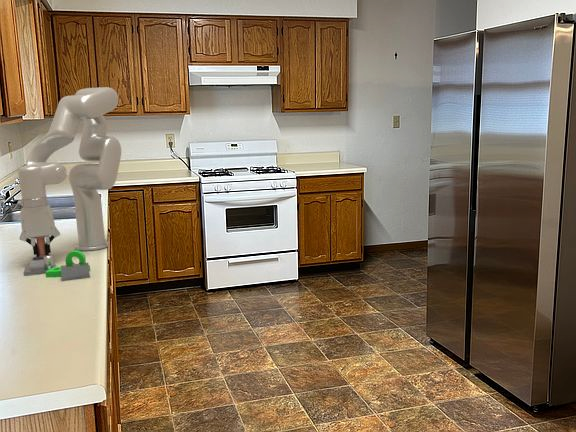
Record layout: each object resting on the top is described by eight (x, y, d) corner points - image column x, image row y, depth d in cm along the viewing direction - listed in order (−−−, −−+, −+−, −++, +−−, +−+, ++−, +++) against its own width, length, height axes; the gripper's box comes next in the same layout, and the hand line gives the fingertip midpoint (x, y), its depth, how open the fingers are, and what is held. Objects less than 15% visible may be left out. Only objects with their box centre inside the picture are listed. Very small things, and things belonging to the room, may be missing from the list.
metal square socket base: (26, 268, 190) (24, 253, 189) (55, 264, 193) (53, 249, 192) (23, 275, 181) (21, 260, 180) (54, 272, 184) (52, 256, 183)
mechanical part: (90, 270, 185) (88, 246, 183) (85, 276, 179) (82, 251, 178) (52, 272, 184) (49, 248, 183) (46, 278, 178) (43, 253, 177)
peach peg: (38, 259, 196) (35, 235, 194) (48, 258, 197) (45, 234, 195) (38, 262, 193) (34, 237, 191) (48, 260, 194) (44, 236, 192)
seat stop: (62, 278, 177) (60, 265, 176) (89, 274, 179) (88, 262, 179) (62, 280, 174) (60, 268, 173) (89, 277, 177) (88, 264, 176)
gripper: (7, 207, 185) (15, 262, 189) (60, 202, 190) (68, 255, 194) (9, 203, 192) (17, 256, 195) (61, 198, 197) (68, 249, 201)
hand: (42, 255), depth 195 cm, fingers closed on peach peg, 2 cm apart
